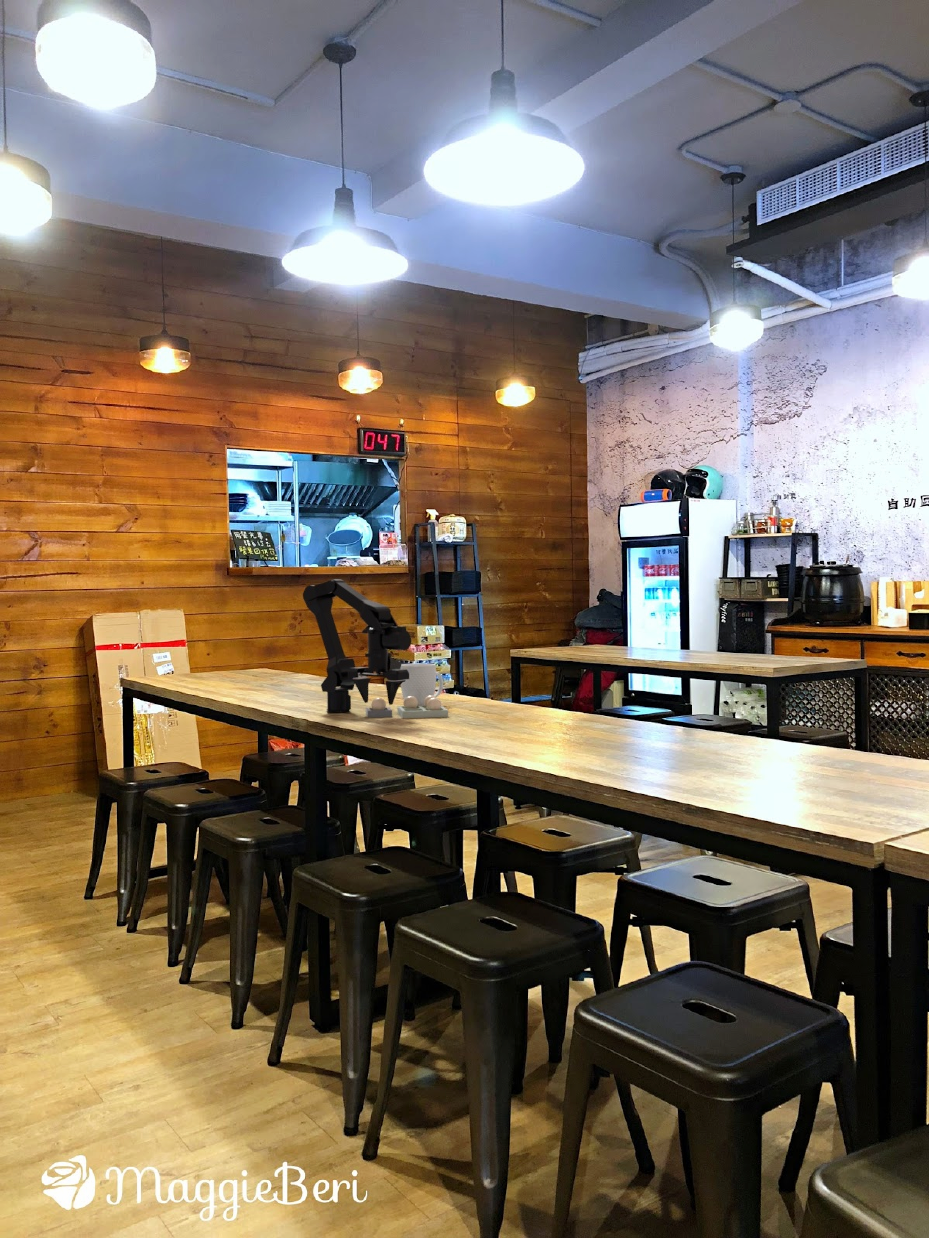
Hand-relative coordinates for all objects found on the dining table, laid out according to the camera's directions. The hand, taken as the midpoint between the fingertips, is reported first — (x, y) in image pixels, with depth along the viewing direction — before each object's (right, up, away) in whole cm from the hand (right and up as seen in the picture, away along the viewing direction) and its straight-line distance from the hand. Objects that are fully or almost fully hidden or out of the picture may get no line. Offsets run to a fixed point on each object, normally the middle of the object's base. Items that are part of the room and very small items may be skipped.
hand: (378, 703), depth 273 cm
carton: (+13, -3, +1) cm, 13 cm away
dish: (0, -3, 0) cm, 3 cm away
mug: (+11, -3, +21) cm, 24 cm away
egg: (0, 0, 0) cm, 0 cm away
